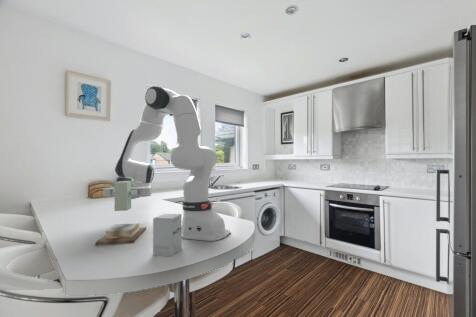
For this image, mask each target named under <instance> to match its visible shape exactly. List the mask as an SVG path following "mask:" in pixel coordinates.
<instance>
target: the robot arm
mask: <svg viewBox="0 0 476 317" xmlns="http://www.w3.org/2000/svg"><path fill="white" fill-rule="evenodd" d="M145 92H146V93H145V97H144V98H145V105H144V107H143V110H142V112H141V116H140V120H139V124H138V126H137V127H136V128H135V129H132V130H131V131H130V133H129V135H128V137H127V138H126V139H127V140H126V141H125V144H124V146H123V149H122V152H121V154H120V157H119V159H118V161H117V163H116V164H115V165H116V166H115V167H114V168H115V169H114V172H115V174H116V175H117V176H118V178H123V179H131V180H130V181H131V191H129V195H131V200H134V199H139V198H144V197H151V196H152V192H153V191H152V182H153V180H154V176H155V170H154V167H153V166H152V164H150V163H147V162H142V161H137V160H133V159H131V158H132V155H133V152H134V150H135V147H136V145H137V144H139V143H141V142H148V141H153V140H157V139H158V138H159V137H160V136H161V134H162V131H163V126H164V121H165V117H166V116H167V115H169V116H170V117H173V123H174V126H175V132H176V143H175V144H176V145H175V147H174V148H173V149H172V151H171V153H170V161H171V164H172V165H173V166H174V168H177V169H179V170H184V171H190V172H189V174H188V177H187V179H186V180H185V181H184V182H183V201H182V206H181V207H182V210H183V215H182V220H181V225H182V239H185V240H198V241H205V242H214V241H219V240H221V239H224V238H227V237H228V236H229V235H230V234H231V230H230V229H228V228H226V224H225V220H224V218H223V217H221V215H219V214H218V213H217V212H216V211H215V210H214V209H213V207H212V206H214V202H211V201H210V199H209V187H210V186H209V183H210V178H211V174H212V170H213V168H214V167H215V165H216V164H217V162H218V155H217V152H216V151H215V150H214V149H212V148H210V147H208V146H203V145H202V146H200V145H199V136H200V135H201V133H202V128H201V125H200V124H201V123H200V120H199V116H198V113H197V110H196V107H195V105H194V102H193V100H192V99H191V97H190V96H189V95H185V94H179V93H177V92H175V91H173V90H171V89H168V88H163V87H162V86H157V85H155V86H151V87H148V89H147V91H145ZM102 190H103V191H102V196H103V197H115V186H111V187H105V188H103V189H102ZM229 233H230V234H229ZM228 234H229V235H228ZM227 235H228V236H227Z"/></svg>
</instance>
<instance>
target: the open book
mask: <svg viewBox="0 0 476 317" xmlns="http://www.w3.org/2000/svg"><path fill="white" fill-rule="evenodd" d="M145 231H147V227H143V226H142V227H140V223H124V224H123V223H121V224H120V223H119V224H115V225H113V226H112V227H110V228H108V229H107V230H105V235H104V236H102V237H101V238H100V239H98V240H97V241H95V243H94V244H95V246H98V245H102V246H103V245H117V244H132V243H136V241H137V240H138V239H139V238H140V236H142V235H143V234H144V233H145Z"/></svg>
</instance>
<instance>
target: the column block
mask: <svg viewBox="0 0 476 317" xmlns="http://www.w3.org/2000/svg"><path fill="white" fill-rule="evenodd" d="M131 181H132V180H126V181H125V180H124V181H121V180H120V181H119V180H118V181H115V182H114V187H115V196H114V212H122V211H129V210H130V209H132V199H131V195H129V191H131Z"/></svg>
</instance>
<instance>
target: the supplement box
mask: <svg viewBox="0 0 476 317" xmlns="http://www.w3.org/2000/svg"><path fill="white" fill-rule="evenodd" d="M152 221H153V222H152V255H153V256H164V257H173V256H174V255H175V254H176V253H177V252H178V251H180V250H181V249H183V248H182V246H183V245H182V239H183V238H182V213H162V214H161V215H160V214H159V215H158V216H155V217H153V218H152Z"/></svg>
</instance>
